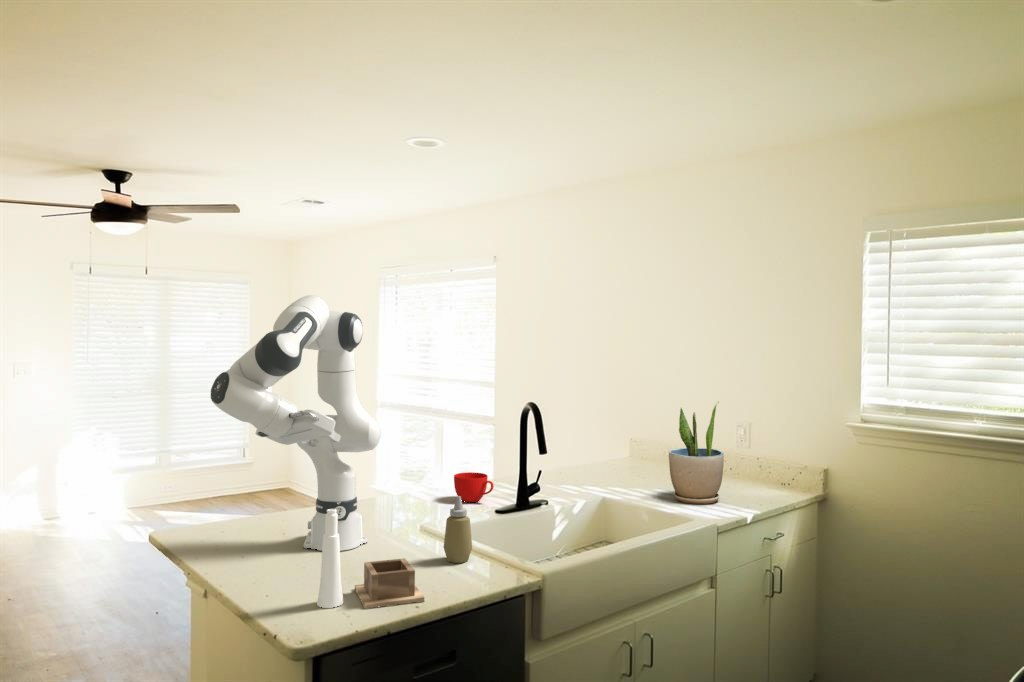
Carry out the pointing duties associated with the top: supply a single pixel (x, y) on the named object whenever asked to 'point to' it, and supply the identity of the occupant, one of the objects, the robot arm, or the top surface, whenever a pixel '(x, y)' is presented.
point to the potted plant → (696, 465)
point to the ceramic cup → (471, 486)
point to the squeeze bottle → (458, 534)
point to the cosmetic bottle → (330, 565)
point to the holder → (388, 584)
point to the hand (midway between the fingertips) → (327, 441)
